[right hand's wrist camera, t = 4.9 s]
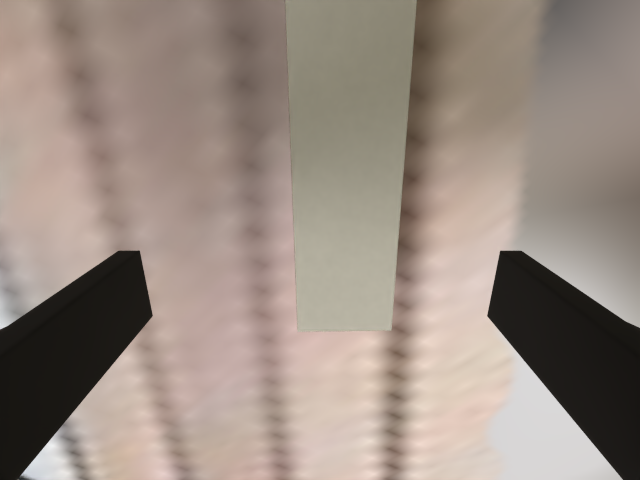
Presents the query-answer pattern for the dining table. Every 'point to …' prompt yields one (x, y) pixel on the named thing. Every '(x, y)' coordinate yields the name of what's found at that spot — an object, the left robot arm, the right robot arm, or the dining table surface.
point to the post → (347, 156)
